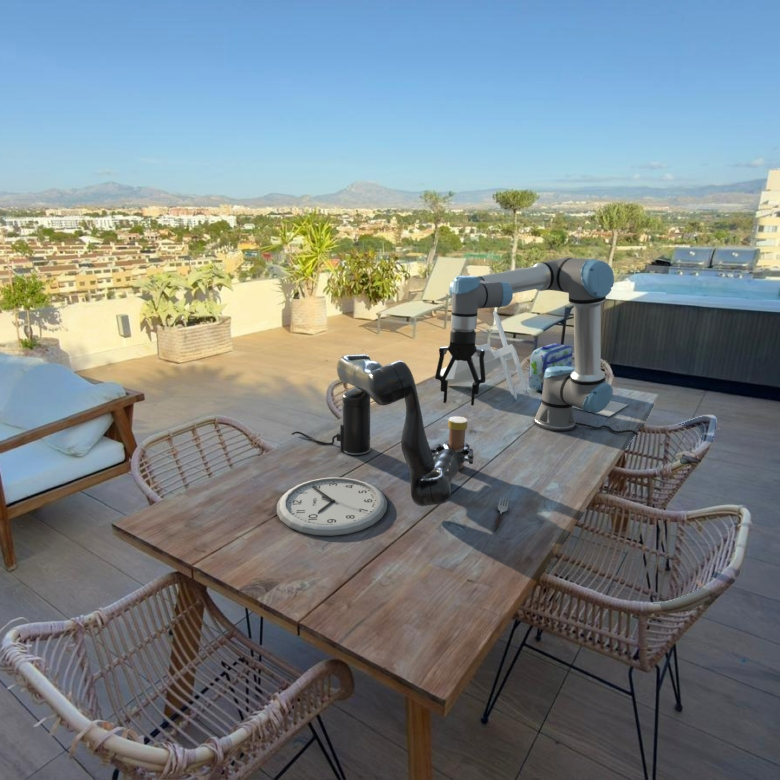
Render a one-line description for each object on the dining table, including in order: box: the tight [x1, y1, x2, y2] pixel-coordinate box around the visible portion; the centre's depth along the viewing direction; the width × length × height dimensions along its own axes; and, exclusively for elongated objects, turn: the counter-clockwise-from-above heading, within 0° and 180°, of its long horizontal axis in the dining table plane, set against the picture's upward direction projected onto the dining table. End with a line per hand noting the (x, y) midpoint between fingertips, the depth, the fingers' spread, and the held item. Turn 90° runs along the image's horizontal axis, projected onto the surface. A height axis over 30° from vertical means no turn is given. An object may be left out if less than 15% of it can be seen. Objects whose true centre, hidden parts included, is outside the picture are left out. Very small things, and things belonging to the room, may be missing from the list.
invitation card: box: [573, 400, 629, 418], centre depth 226 cm, size 21×1×15 cm
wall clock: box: [276, 476, 388, 537], centre depth 142 cm, size 30×2×30 cm
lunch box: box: [528, 343, 574, 392], centre depth 249 cm, size 26×11×21 cm, turn 134°
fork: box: [494, 496, 510, 532], centre depth 138 cm, size 3×16×2 cm, turn 160°
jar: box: [448, 428, 466, 470], centre depth 165 cm, size 5×5×16 cm
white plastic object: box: [440, 310, 531, 400], centre depth 245 cm, size 37×45×31 cm
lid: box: [447, 415, 468, 431], centre depth 163 cm, size 6×6×2 cm
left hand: (458, 444), depth 168 cm, fingers closed on jar, 5 cm apart
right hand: (458, 402), depth 161 cm, fingers open, 8 cm apart
